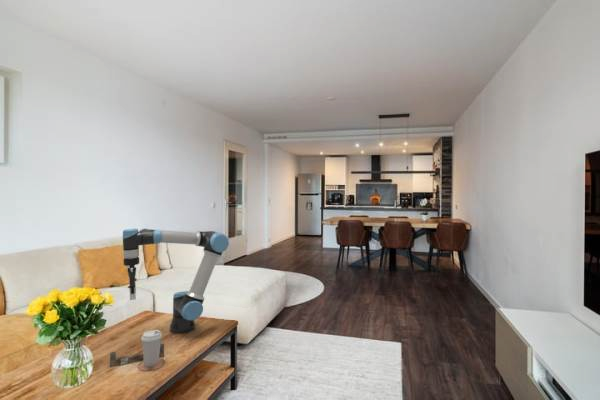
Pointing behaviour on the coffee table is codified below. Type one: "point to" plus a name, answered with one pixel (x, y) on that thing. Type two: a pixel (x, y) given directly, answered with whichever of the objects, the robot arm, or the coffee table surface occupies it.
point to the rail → (135, 358)
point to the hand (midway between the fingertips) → (133, 296)
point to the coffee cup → (151, 347)
